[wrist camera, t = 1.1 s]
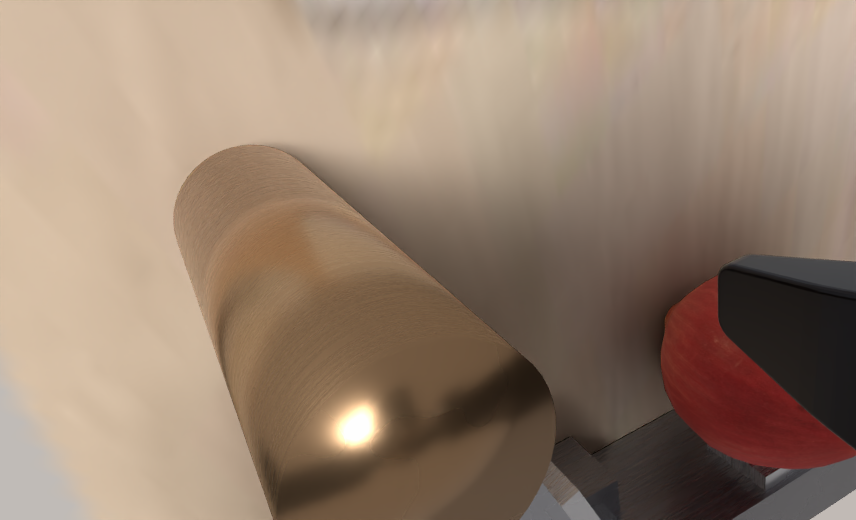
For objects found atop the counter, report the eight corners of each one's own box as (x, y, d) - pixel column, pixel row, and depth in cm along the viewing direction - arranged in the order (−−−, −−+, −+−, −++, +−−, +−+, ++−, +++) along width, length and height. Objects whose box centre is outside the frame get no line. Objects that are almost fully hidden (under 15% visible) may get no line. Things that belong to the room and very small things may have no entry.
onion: (698, 196, 22) (971, 294, 15) (760, 293, 25) (1010, 411, 18) (577, 332, 22) (799, 494, 15) (655, 413, 25) (868, 576, 18)
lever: (549, 471, 22) (794, 733, 14) (468, 544, 21) (677, 855, 14) (272, 107, 14) (489, 262, 6) (138, 211, 14) (204, 503, 6)
